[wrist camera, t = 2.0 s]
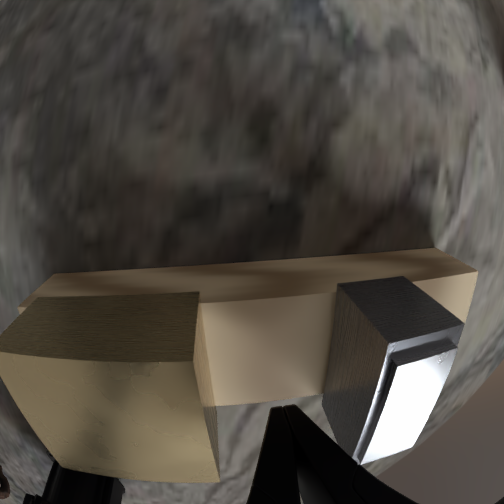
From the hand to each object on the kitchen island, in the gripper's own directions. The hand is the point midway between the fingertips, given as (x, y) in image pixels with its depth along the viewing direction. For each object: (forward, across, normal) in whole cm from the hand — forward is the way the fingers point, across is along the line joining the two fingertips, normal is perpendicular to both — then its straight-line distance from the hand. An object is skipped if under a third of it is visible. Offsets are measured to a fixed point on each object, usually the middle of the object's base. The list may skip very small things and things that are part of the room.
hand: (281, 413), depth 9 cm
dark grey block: (+3, -4, 0) cm, 5 cm away
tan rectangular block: (+3, +6, 0) cm, 7 cm away
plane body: (+7, 0, 0) cm, 7 cm away
